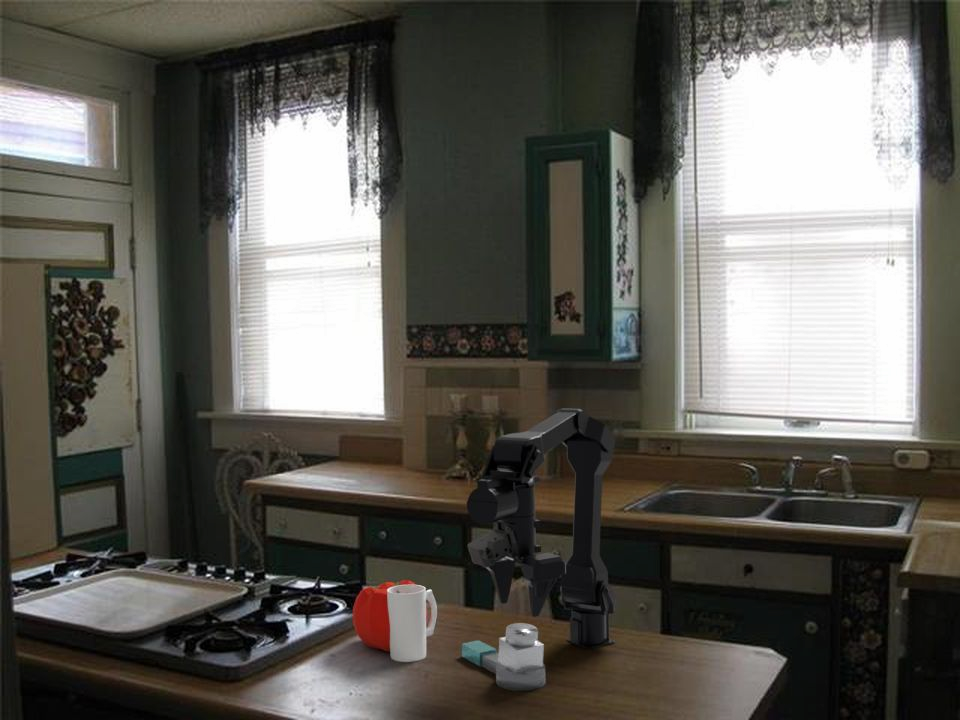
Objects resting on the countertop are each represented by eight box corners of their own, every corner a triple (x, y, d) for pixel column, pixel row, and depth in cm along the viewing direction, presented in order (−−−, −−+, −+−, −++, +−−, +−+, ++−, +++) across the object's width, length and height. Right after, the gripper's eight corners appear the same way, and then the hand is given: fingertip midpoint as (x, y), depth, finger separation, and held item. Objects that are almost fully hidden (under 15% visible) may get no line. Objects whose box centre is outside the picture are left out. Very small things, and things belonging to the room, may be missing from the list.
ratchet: (450, 659, 176) (449, 627, 175) (489, 651, 180) (488, 619, 180) (513, 694, 158) (513, 658, 158) (555, 684, 163) (554, 649, 162)
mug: (404, 665, 172) (402, 595, 172) (381, 657, 177) (379, 589, 177) (449, 652, 179) (447, 585, 179) (425, 644, 184) (423, 579, 184)
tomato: (387, 663, 173) (384, 595, 173) (338, 647, 184) (336, 582, 183) (445, 645, 182) (443, 581, 182) (396, 631, 193) (394, 570, 193)
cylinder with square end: (524, 655, 167) (526, 620, 167) (542, 668, 163) (544, 632, 162) (498, 661, 165) (500, 626, 164) (515, 674, 160) (517, 638, 160)
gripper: (445, 511, 167) (447, 604, 167) (507, 529, 151) (508, 632, 151) (502, 504, 173) (503, 594, 173) (567, 520, 157) (568, 620, 157)
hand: (519, 609), depth 164 cm, fingers open, 9 cm apart
